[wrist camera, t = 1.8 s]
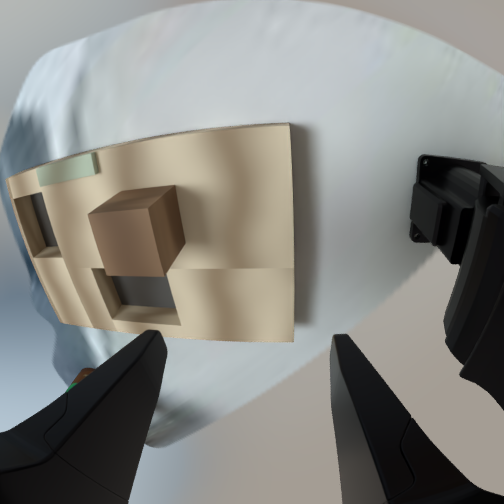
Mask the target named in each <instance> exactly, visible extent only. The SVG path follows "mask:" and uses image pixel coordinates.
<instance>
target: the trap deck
mask: <svg viewBox="0 0 504 504" xmlns="http://www.w3.org/2000/svg"><path fill="white" fill-rule="evenodd" d="M6 183H7V187H8V191H9V195H10V199H11V202H12V206H13V209H14V212H15V216H16V219H17V222H18V225H19V228H20V231H21V234H22V237H23V239H24V242H25V245H26V248H27V250H28V253H29V255H30V258H31V260H32V263H33V265H34V268H35V270H36V272H37V275H38V277H39V279H40V282H41V284H42V286H43V288H44V290H45V292H46V295H47V297H48V299H49V301H50V303H51V305H52V307H53V309H54V311H55V313H56V315H57V317H58V318H59V320H60V322H61V323H66V324H71V325H77V326H83V327H90V328H96V329H103V330H110V331H117V332H125V333H133V334H142V333H143V332H144V331H146V330H148V329H152V330H159V331H160V332H161V334H162V336H163V337H173V338H185V339H199V340H216V341H239V342H294V222H293V188H292V163H291V143H290V125H289V123H271V124H254V125H240V126H229V127H219V128H210V129H201V130H193V131H186V132H179V133H173V134H166V135H160V136H154V137H149V138H144V139H138V140H133V141H128V142H124V143H119V144H114V145H110V146H106V147H102V148H97V149H93V150H89V151H86V152H82V153H78V154H74V155H71V156H67V157H64V158H61V159H57V160H54V161H51V162H47V163H44V164H41V165H38V166H35V167H32V168H29V169H26V170H24V171H21V172H19V173H17V174H15V175H13V176H11V177H9V178H7V179H6ZM168 185H175V187H176V193H177V198H178V204H179V210H180V215H181V220H182V226H183V231H184V236H185V241H186V244H185V245H184V247H183V248H182V250H181V251H180V253H179V255H178V256H177V258H176V259H175V261H174V262H173V264H172V266H171V267H170V269H169V270H168V272H167V274H166V275H165V277H148V276H107V274H106V272H105V269H104V266H103V263H102V260H101V257H100V254H99V251H98V248H97V245H96V242H95V239H94V235H93V232H92V229H91V225H90V222H89V219H88V215H87V214H89V213H90V212H91V211H93V210H94V209H95V208H97V207H98V206H100V205H101V204H103V203H104V202H105V201H107V200H108V199H110V198H111V197H113V196H114V195H116V194H117V193H119V192H120V191H125V190H133V189H141V188H149V187H158V186H168Z"/></svg>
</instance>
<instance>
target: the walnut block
mask: <svg viewBox="0 0 504 504" xmlns="http://www.w3.org/2000/svg"><path fill="white" fill-rule="evenodd" d="M87 215H88V219H89V222H90V225H91V229H92V232H93V235H94V239H95V242H96V245H97V248H98V251H99V254H100V257H101V260H102V263H103V266H104V269H105V272H106V274H107V276H148V277H165V275H166V274H167V272H168V270H169V269H170V267H171V266H172V264H173V262H174V261H175V259H176V258H177V256H178V255H179V253H180V251H181V250H182V248H183V247H184V245H185V244H186V241H185V236H184V231H183V226H182V220H181V215H180V210H179V204H178V198H177V193H176V187H175V185H168V186H158V187H149V188H141V189H133V190H125V191H120V192H119V193H117V194H116V195H114V196H113V197H111V198H110V199H108V200H107V201H105V202H104V203H103V204H101V205H100V206H98V207H97V208H95V209H94V210H93V211H91V212H90V213H89V214H87Z"/></svg>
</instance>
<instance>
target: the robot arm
mask: <svg viewBox="0 0 504 504" xmlns="http://www.w3.org/2000/svg"><path fill="white" fill-rule="evenodd" d="M425 159H427V164H425V165H424V164H423V161H424V160H425ZM410 219H411V220H412V221H411V228H410V238H411V240H412V241H413V242H415V243H431V244H432V245H433V246H437V247H438V248H439V249H440V251H441V252H442V253H443V254H444V255H445V257H446V258H447V259H448V260H449V262H450V263H451V264H459V266H460V269H459V273H458V276H457V279H456V282H455V286H454V288H453V292H452V294H451V297H450V300H449V303H448V306H447V309H446V312H445V316H444V321H443V322H444V328H445V333H446V336H447V337H446V339H445V343H446V345H447V346H448V348H449V350H450V352H451V353H452V354H453V355H454V356H455V357H456V359H457V360H458V361H459V362H460V363H462V364H463V365H464V367H463V368H462V370H461V372H460V374H459V375H460V377H462V378H464V379H466V380H469V381H471V382H474V383H476V384H477V385H479V386H480V387H482V388H483V389H484V390H486V391H487V392H488V393H489V394H490V395H491V396H492V397H493V398H494V399H495V400H496V402H497V403H498V404H499V405H500V406H501V408H502V409H503V410H504V167H498V166H493V165H487V164H486V163H484V162H480V161H474V160H467V159H460V158H452V157H444V156H435V155H426V154H423V155H421V156H420V157H419V158H418V165H417V178H416V183H415V184H414V186H413V195H412V204H411V212H410ZM417 233H418V236H417V237H414V236H415V234H417ZM166 359H167V347H166V344H165V342H164V339H163V336H162V334H161V332H160V331H159V330H152V329H148V330H146V331H144V332H143V333H142V334H140V335H139V336H138V337H136V338H135V339H134V340H133V341H131V342H130V343H129V344H127V345H126V346H125V347H123V348H122V349H121V350H120V351H118V352H117V353H116V354H114V355H113V356H112V357H111V358H109V359H108V360H107V361H105V362H104V363H103V364H101V365H100V366H99V367H98V368H96V369H95V370H94V371H92V372H91V373H90V374H89V375H87V376H86V377H85V378H83V379H82V380H81V381H80V382H78V383H77V384H76V385H74V386H73V387H72V388H71V389H69V390H68V392H65V393H64V394H63V395H61V396H60V397H59V398H57V399H56V400H55V401H53V402H52V403H51V404H49V405H48V406H47V407H45V408H44V409H42V410H41V411H39V412H37V413H36V414H34V415H33V416H31V417H30V418H28V419H26V420H25V421H23V422H22V423H20V424H18V425H17V426H15V427H14V428H12V429H10V430H8V431H5V432H1V433H0V504H128V500H129V497H130V493H131V490H132V486H133V482H134V479H135V475H136V471H137V468H138V464H139V461H140V457H141V453H142V450H143V447H144V443H145V440H146V437H147V433H148V430H149V427H150V423H151V420H152V417H153V414H154V410H155V407H156V404H157V401H158V397H159V393H160V389H161V384H162V379H163V373H164V368H165V364H166ZM330 382H331V408H332V416H333V423H334V430H335V438H336V446H337V454H338V462H339V472H340V481H341V491H342V502H343V504H504V496H501V495H498V494H495V493H492V492H489V491H486V490H483V489H481V488H479V487H477V486H476V485H474V484H473V483H472V482H470V481H469V480H468V479H467V478H466V477H465V476H464V475H463V474H462V473H461V472H460V471H459V470H458V469H457V468H456V467H455V466H454V465H453V464H452V463H451V461H449V459H447V457H446V456H445V455H444V454H443V453H442V452H441V451H440V450H439V449H438V448H437V447H436V446H435V445H434V444H433V442H432V441H430V439H429V438H428V437H427V435H426V434H425V433H424V432H423V430H422V429H421V428H420V427H419V425H418V424H417V423H416V421H415V420H414V419H413V418H411V415H410V413H409V412H408V411H407V410H406V408H405V407H404V406H403V404H402V403H401V402H400V401H399V399H398V398H397V397H396V395H395V394H394V393H393V391H392V390H391V389H390V388H389V386H388V385H387V384H386V382H385V381H384V380H383V379H382V377H381V376H380V375H379V373H378V372H377V371H376V369H374V367H373V366H372V364H371V363H370V362H369V361H368V360H367V358H366V357H365V355H364V354H363V353H362V352H361V350H360V349H359V348H358V347H357V345H356V344H355V343H354V342H353V340H352V339H351V338H350V337H349V335H348V334H335V335H333V337H332V344H331V351H330Z"/></svg>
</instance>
